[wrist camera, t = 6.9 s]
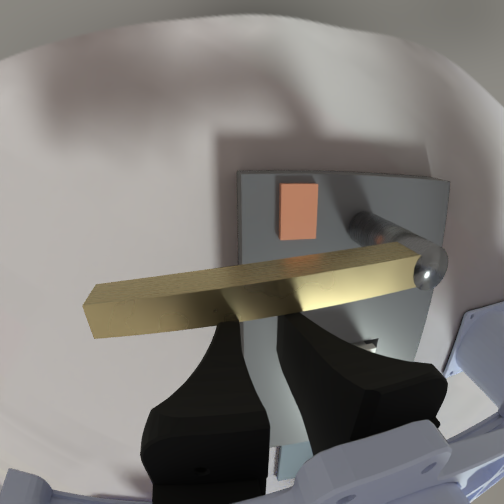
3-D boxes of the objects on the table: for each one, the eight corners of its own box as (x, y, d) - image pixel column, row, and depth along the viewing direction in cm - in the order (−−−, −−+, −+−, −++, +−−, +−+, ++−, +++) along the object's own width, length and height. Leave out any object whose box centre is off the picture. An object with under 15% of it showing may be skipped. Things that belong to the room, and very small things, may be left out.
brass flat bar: (377, 241, 18) (444, 285, 12) (127, 277, 16) (96, 345, 10) (378, 209, 17) (450, 242, 12) (119, 242, 16) (80, 298, 10)
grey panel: (432, 177, 20) (453, 182, 18) (383, 406, 27) (393, 422, 25) (237, 171, 18) (242, 174, 16) (243, 433, 25) (247, 454, 23)
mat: (369, 413, 27) (371, 417, 27) (351, 460, 30) (353, 464, 30) (281, 431, 26) (282, 436, 25) (276, 476, 29) (277, 480, 28)
